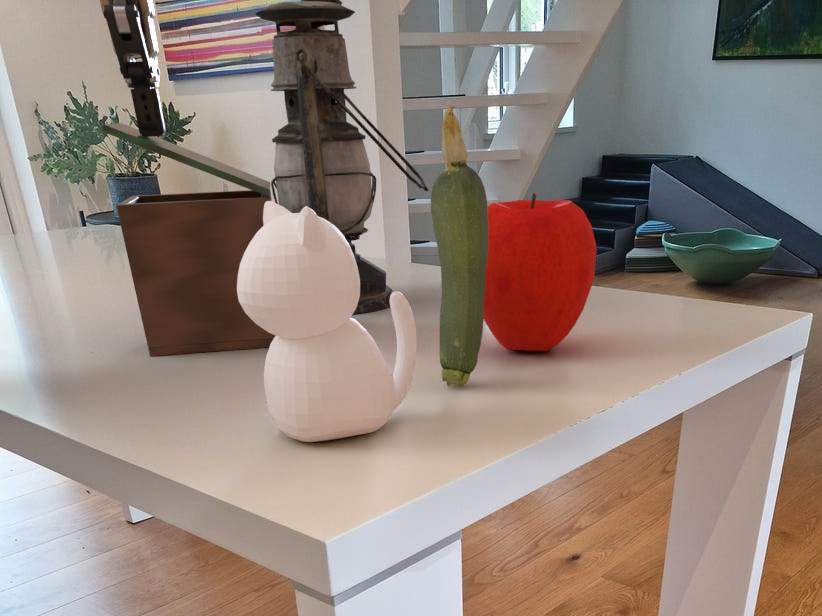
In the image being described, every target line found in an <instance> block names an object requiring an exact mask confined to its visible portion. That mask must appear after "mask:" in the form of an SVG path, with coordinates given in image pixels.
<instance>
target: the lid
mask: <svg viewBox="0 0 822 616" xmlns="http://www.w3.org/2000/svg"><path fill="white" fill-rule="evenodd" d="M102 133H104V134H107V135H110V136H113V137H115V138H118V139H120V140H123V141H125V142H127V143H130V144H133V145H135V146H138V147H141V148H142V149H145V150H148V151H150V152H153V153H156V154H159V155H160V156H163V157H166V158H168V159H171V160H174V161H176V162H179V163H181V164H184V165H186V166H189V167H192V168H194V169H197V170H198V171H202V172H204V173H207V174H210V175H212V176H214V177H217V178H220V179H222V180H225V181H227V182H230V183H232V184H235V185H238V186H240V187H242V188H245V189H247V190H253V191H255V192H258V193H260V194H263V195H265V196H269V192H271V181H268V180H265V179H263V178H261V177H259V176H255V175H253V174H250V173H248V172H246V171H243V170H241V169H238V168H235V167H233V166H231V165H228V164H226V163H223V162H221V161H218V160H216V159H213V158H211V157H208V156H205V155H203V154H200V153H198V152H196V151H192V150H190V149H187V148H185V147H182V146H180V145H178V144H175V143H172V142H170V141H168V140H165V139H162V138H160V137H159V136H152V137H144V136H142V135H141V134H140V132H139V129H137V128H134V127H132V126H130V125H127V124H125V123H123V122H119V123H106V124H104V123H103V125H102Z"/></svg>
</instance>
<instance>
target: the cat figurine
mask: <svg viewBox="0 0 822 616" xmlns="http://www.w3.org/2000/svg"><path fill="white" fill-rule="evenodd" d="M278 204H279V203H278ZM278 204H276V203H275V201H273V200H272V201H266V203H265V204H264V210H263V224H264V226H263V227H262V228H261V229H260V230H259V231H258V232H257V233H256V234H255V236H254V237H253V239H252V240H251V242H250V243H249V245H248V247H247V249H246V251H245V253H244V255H243V258H242V260H241V263H240V267H239V272H238V278H237V294H238V300H239V303H240V304H241V306H242V308H243V310H244V311H245V313H246V314H247V315H248V316H249V317H250V318H251V319H252V320H253V321H254V323H256V324H257V325H258V326H260V327H261V328H263V329H264V330H266V331H267V332H269V333H271V334H273V335H276V336H275V337H274V339H273V341H272V342H271V344H270V347H268V350H267V352H266V356H265V360H264V361H265V362H264V366H263V367H264V368H263V385H264V386H263V387H264V394H265V402H266V407H267V409H268V412H269V415H270V417H271V419H272V421H273V423H274V425H275V427H276V428H277V429H278V430H280V431H281V432H282V433H283V434H284V435H286V436H287V437H289V438H291V439H294V440H296V441H299V442H305V443H313V442H324V441H325V442H326V441H331V440H338V439H344V438H350V437H355V436H360V435H365V434H370V433H374V432H376V431H378V430H379V429H380V428H382V427H383V426H384V425H385V424H386V423H387V422H388V421H389V420H390V417H391V416H392V413H393V412H394V411H395V410H397V408H398V407H399V406H400V405H401V404H402V403H403V401H404V400H405V398H406V396H407V395H408V392H409V390H410V388H411V384H412V381H413V377H414V372H415V367H416V359H417V351H418V350H417V341H418V340H417V327H416V321H415V316H414V313H413V310H412V307H411V305H410V303H409V300H408V299H407V298H406V297H405V295H404V294H403V293H402V292H400V291H398V290H395V291H393V292H392V294H391V295H390V307H389V308H390V312H391V317H392V321H393V325H394V330H395V335H396V337H395V338H396V356H395V365H394V369H393V374H392V373H391V370H390V368H389V365H388V363H387V361H386V359H385V357H384V356H383V354H382V352H381V350H380V348H379V347H378V345H377V343H376V341H375V340H374V338H373V337H372V335H371V334H370V333H369V331H368V330H367V329H366V328H365V327H364V326H363V325H361V324H360V322H359V321H357V320H356V319H355V318H352V316H353V315H354V314H353V313H354V311H355V309H356V307H357V304H358V301H359V297H360V278H359V272H358V267H357V264H356V260H355V257H354V254H353V252H352V250H351V248H350V245H349V244H348V242H347V240H346V239H345V237H344V236H343V234H342V233H341V232H340V231H339V230H338V229H337V228H336V227H335V226H334V225H333V224H331V223H330V222H328V221H327V220H326V219H324V218H321V217H318V216H317V215H316V213H315V212H314V211H313V210H312V209H311V208H309V207H307V206H306V207H304V208H303V209H302V210H301V212H300V213H291V212H290V211H288V210H287V209H286V208H284V207H283V206H281V205H278Z"/></svg>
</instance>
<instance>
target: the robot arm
mask: <svg viewBox="0 0 822 616" xmlns="http://www.w3.org/2000/svg"><path fill="white" fill-rule="evenodd" d="M99 4H100V9H101V12H102V14H103V18H104V19H105V21H106V24H107V27H108V31H109V36H110V39H111V44H112V48H113V52H114V54H115V55H116V59H117V62H118V64H119V72H120V74H121V75H122V77H123V80H124V82H125V84H126V85H127V87H128V89H130V92H131V98H132V104H133V109H134V113H135V119H136V122H137V127H138V130H139V132H140V134H141V135H142V136H144V137H152V136H155V137H163V136H165V134H166V131H167V129H166V125H165V120H164V115H163V109H162V105H161V104H162V103H161V98H160V94H159V89H158V88H160V76H161V71H160V68H159V62H158V56H159V47H158V41H157V36H156V30H155V23H154V19H155V15H156V13H155V8H154V2H153V0H99ZM138 59H141V61H137V60H138Z"/></svg>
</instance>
